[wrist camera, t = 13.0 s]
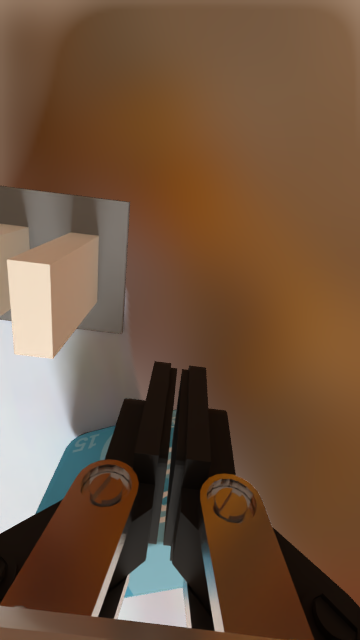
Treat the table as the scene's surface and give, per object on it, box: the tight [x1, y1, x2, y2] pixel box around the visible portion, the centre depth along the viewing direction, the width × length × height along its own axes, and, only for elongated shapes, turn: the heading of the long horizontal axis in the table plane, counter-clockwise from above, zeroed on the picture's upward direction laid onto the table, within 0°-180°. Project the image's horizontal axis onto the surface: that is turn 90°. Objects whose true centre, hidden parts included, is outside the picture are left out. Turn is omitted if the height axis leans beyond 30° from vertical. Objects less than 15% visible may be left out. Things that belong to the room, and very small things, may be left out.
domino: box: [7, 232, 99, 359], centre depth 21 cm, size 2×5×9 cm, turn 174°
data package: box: [36, 410, 183, 598], centre depth 26 cm, size 12×4×12 cm, turn 109°
